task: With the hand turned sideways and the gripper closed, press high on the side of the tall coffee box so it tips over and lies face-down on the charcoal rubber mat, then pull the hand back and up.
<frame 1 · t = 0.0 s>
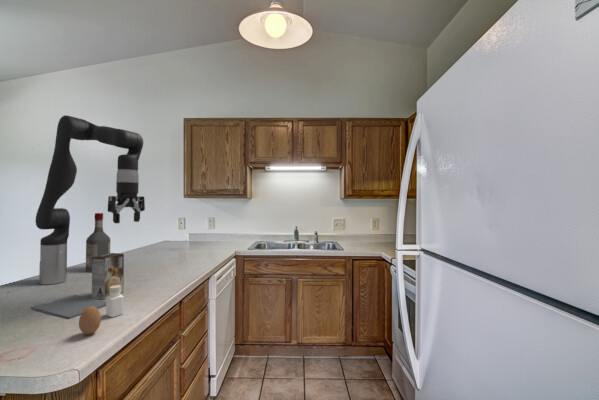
hand: (126, 222, 114), 29 cm above the countertop, tool pointing down, fingers open, 8 cm apart
salt shaker: (114, 315, 96), on the countertop
egg: (89, 334, 83), on the countertop
mat: (72, 306, 102), on the countertop
coffee box: (107, 295, 115), on the countertop
liquor: (98, 270, 152), on the countertop
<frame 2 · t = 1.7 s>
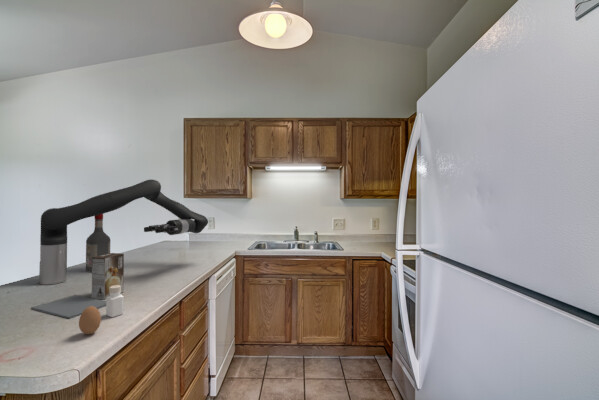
hand: (150, 230, 133), 24 cm above the countertop, tool horizontal, fingers open, 6 cm apart
nothing on the countertop moved.
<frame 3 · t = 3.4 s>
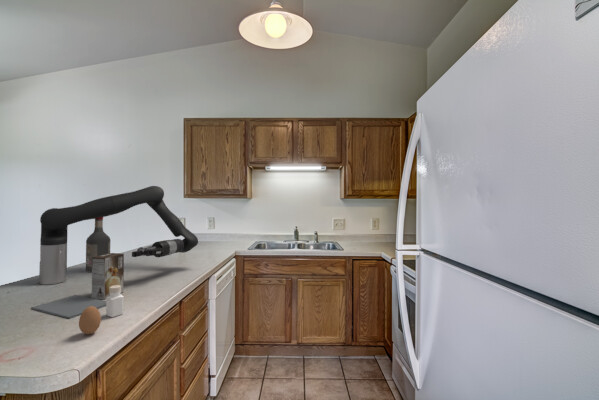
hand: (133, 254, 125), 14 cm above the countertop, tool horizontal, fingers closed
nothing on the countertop moved.
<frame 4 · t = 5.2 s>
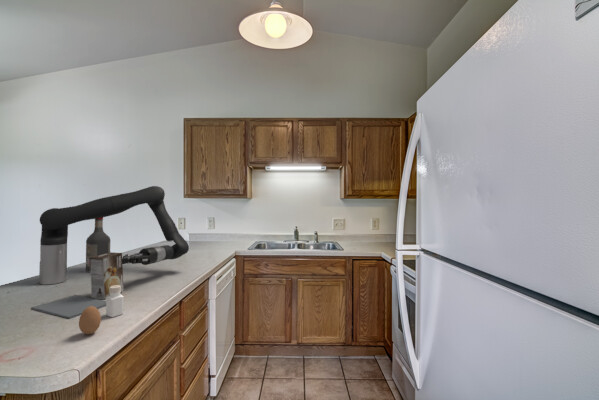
hand: (117, 262, 118), 12 cm above the countertop, tool horizontal, fingers closed
coffee box: (108, 295, 115), on the countertop, touching gripper
everything else where it was.
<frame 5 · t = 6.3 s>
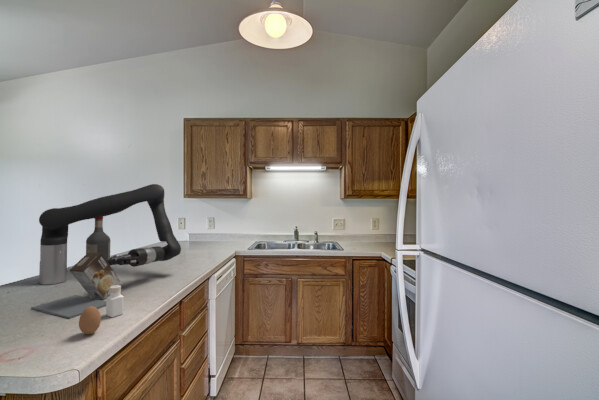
hand: (104, 263, 113), 13 cm above the countertop, tool horizontal, fingers closed
coffee box: (106, 290, 114), point 2 cm above the countertop, touching gripper
everything else where it was.
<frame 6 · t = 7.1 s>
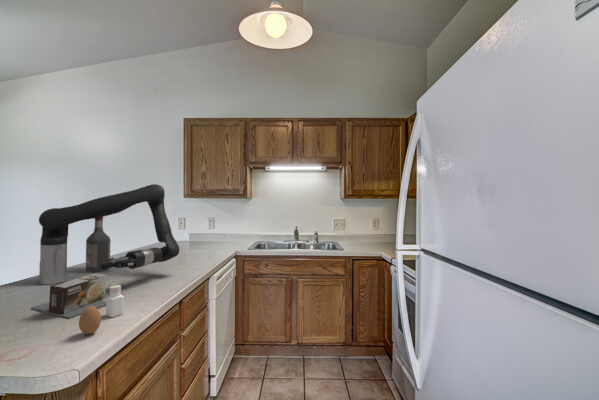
hand: (101, 266, 112), 12 cm above the countertop, tool horizontal, fingers closed
coffee box: (99, 285, 111), point 5 cm above the countertop, touching mat
everything else where it was.
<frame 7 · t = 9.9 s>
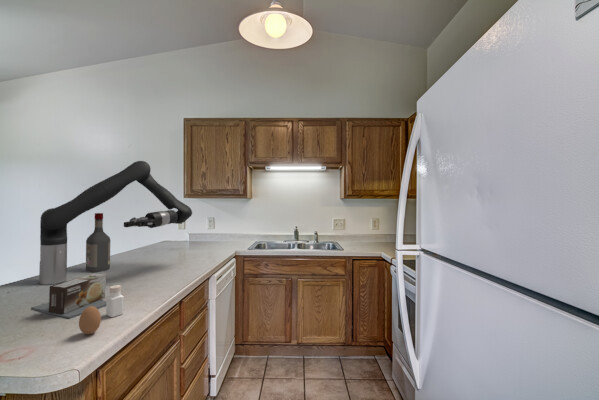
hand: (124, 224, 128), 27 cm above the countertop, tool horizontal, fingers closed
nothing on the countertop moved.
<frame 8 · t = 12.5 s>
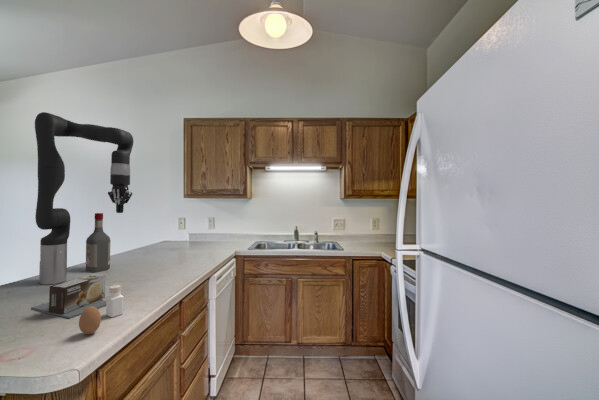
hand: (119, 212, 129), 32 cm above the countertop, tool pointing down, fingers closed
nothing on the countertop moved.
at the end: coffee box tilted 89°; coffee box touching mat; the gripper is holding nothing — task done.
